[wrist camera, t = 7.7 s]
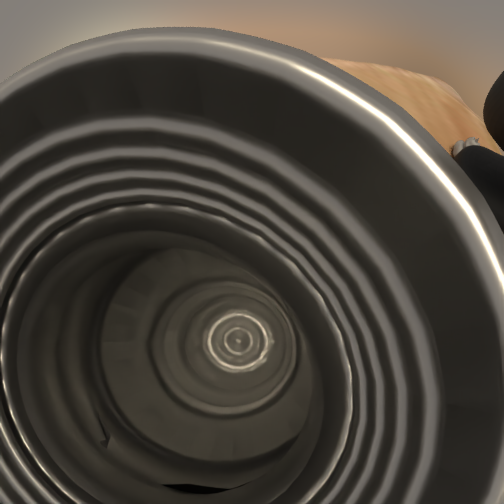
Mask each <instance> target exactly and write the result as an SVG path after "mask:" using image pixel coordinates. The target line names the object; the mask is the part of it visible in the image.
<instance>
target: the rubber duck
mask: <svg viewBox="0 0 504 504" xmlns="http://www.w3.org/2000/svg"><path fill="white" fill-rule="evenodd" d="M478 139H479V138H478ZM478 139H476V140H475V137H470V138H468V139H467V140H466V141H465V142H464V141H462V140H460V141H457V142H456V143H455V145H454V151H453V155H454V157H455V156H456V155H457V154H458V153H459V152H460V151H461V150H462V149H463V148H465V147H467V146H470V145H478V146H480V143H478Z"/></svg>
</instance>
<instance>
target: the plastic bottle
mask: <svg viewBox="0 0 504 504" xmlns="http://www.w3.org/2000/svg"><path fill="white" fill-rule="evenodd" d="M98 413H99V415H100V416H101V418H102V420H103V422H104V424H105V425H106V427H107V429H108V430H109V432H110V434H111V437H110V440H109V443H108V446H107V449H106V448H105V447H104V446H102V445H101V444H100V441H102V440H105V439H106V438H105V435H104V433H103V430H102V428H101V425H100V422H99V420H98ZM250 481H251V482H250ZM248 482H249V483H248ZM245 483H247V484H245ZM161 484H194V485H201V486H208V487H216V488H225V489H231V488H234V489H231V490H227V491H224V492H220V493H214V494H195V493H189V492H184V491H181V490H177V489H173V488H170V487H166V486H163V485H161ZM243 484H245V485H243ZM240 485H243V486H241V487H238V486H240ZM235 487H238V488H235ZM0 504H504V234H503V232H502V230H501V228H500V226H499V224H498V222H497V220H496V218H495V217H494V215H493V213H492V211H491V209H490V207H489V205H488V204H487V202H486V200H485V198H484V197H483V195H482V194H481V193H480V191H479V190H478V189H477V187H476V186H475V185H474V183H473V182H472V181H471V180H470V178H469V177H468V176H467V175H466V173H465V172H464V171H463V170H462V169H461V167H460V166H459V165H458V164H457V163H456V161H455V160H454V159H453V158H452V157H451V156H450V155H449V154H448V152H447V151H446V150H445V149H444V148H443V147H442V146H441V145H440V144H439V143H438V142H437V141H436V140H435V139H434V138H433V136H432V135H431V134H430V133H429V132H428V131H427V130H426V129H425V128H423V127H422V126H421V125H420V124H419V123H418V122H417V121H416V120H415V119H414V118H413V117H412V116H411V115H410V114H409V113H408V112H406V111H405V110H404V109H403V108H402V107H400V106H399V105H398V104H396V103H395V102H393V101H392V100H390V99H389V98H388V97H386V96H385V95H383V94H381V93H380V92H378V91H377V90H375V89H374V88H372V87H371V86H369V85H367V84H366V83H364V82H362V81H361V80H359V79H357V78H356V77H354V76H352V75H350V74H349V73H347V72H345V71H343V70H341V69H340V68H338V67H336V66H334V65H332V64H330V63H328V62H326V61H324V60H322V59H320V58H318V57H316V56H314V55H312V54H310V53H308V52H305V51H303V50H300V49H297V48H294V47H291V46H287V45H283V44H280V43H277V42H274V41H270V40H266V39H262V38H258V37H254V36H250V35H246V34H241V33H236V32H232V31H226V30H221V29H215V28H201V27H157V28H141V29H132V30H127V31H122V32H117V33H112V34H108V35H104V36H101V37H96V38H93V39H89V40H85V41H82V42H79V43H76V44H72V45H70V46H67V47H65V48H63V49H60V50H58V51H56V52H54V53H52V54H50V55H48V56H45V57H44V58H41V59H39V60H37V61H36V62H34V63H32V64H30V65H28V66H26V67H24V68H23V69H21V70H19V71H18V72H16V73H15V74H13V75H12V76H11V77H9V78H8V79H6V80H5V81H4V82H3V83H1V84H0Z"/></svg>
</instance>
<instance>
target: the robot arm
mask: <svg viewBox="0 0 504 504" xmlns="http://www.w3.org/2000/svg"><path fill="white" fill-rule="evenodd" d="M483 116H484V122H485V125H486V128H487V130H488V132H489V133H490V135H491V136H492V137H493V139H494V140H495V141H496V143H497V144H498V145H499V146H500V147H501V149H502V150H503V151H504V71H503V72H502V74H501V75H500V76H499V77H498V79H497V80H496V81H495V83H494V84H493V86H492V88H491V89H490V91H489V93H488V95H487V98H486V100H485V104H484V109H483ZM453 159H454V160H455V161H456V163H457V164H458V165H459V166H460V167H461V169H462V170H463V171H464V172H465V173H466V175H467V176H468V177H469V178H470V180H471V181H472V182H473V183H474V185H475V186H476V187H477V189H478V190H479V191H480V193H481V194H482V195H483V197H484V198H485V200H486V202H487V204H488V205H489V207H490V209H491V211H492V213H493V215H494V217H495V218H496V220H497V222H498V224H499V226H500V228H501V230H502V232H503V234H504V156H502V155H500V154H497V153H495V152H494V151H492V150H489V149H487V148H485V147H482V146H478V145H470V146H467V147H465V148H463V149H462V150H461V151H460V152H459V153H458V154H457V155H456V156H455V157H454V158H453ZM98 420H99V422H100V425H101V428H102V430H103V433H104V435H105V438H106V439H105V440H102V441H100V444H101V445H102V446H104V447H105V448H106V449H107V446H108V443H109V440H110V437H111V434H110V432H109V430H108V429H107V427H106V425H105V424H104V422H103V420H102V418H101V416H100V415H99V413H98ZM250 482H251V481H250ZM248 483H249V482H248ZM245 484H247V483H245ZM245 484H243V485H245ZM161 485H163V486H166V487H170V488H173V489H177V490H181V491H184V492H189V493H195V494H214V493H220V492H224V491H227V490H231V489H234V488H231V489H225V488H216V487H208V486H201V485H194V484H161ZM243 485H240V486H238V487H241V486H243ZM238 487H235V488H238Z"/></svg>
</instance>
